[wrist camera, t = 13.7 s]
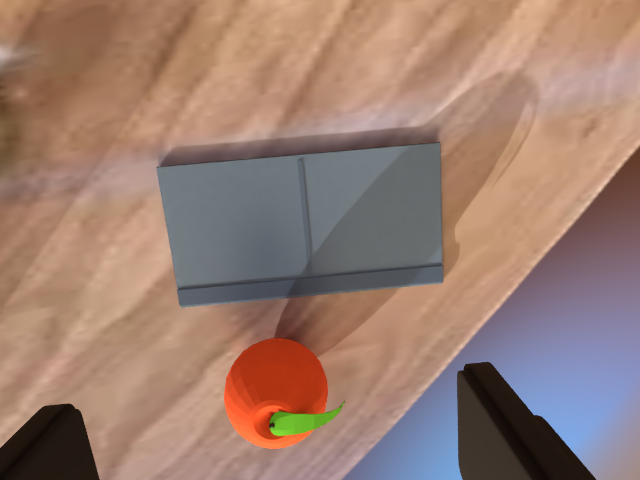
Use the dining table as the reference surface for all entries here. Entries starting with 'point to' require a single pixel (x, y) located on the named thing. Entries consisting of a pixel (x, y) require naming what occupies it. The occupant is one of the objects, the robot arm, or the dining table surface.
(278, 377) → the clementine
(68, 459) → the robot arm
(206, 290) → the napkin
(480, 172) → the dining table surface
